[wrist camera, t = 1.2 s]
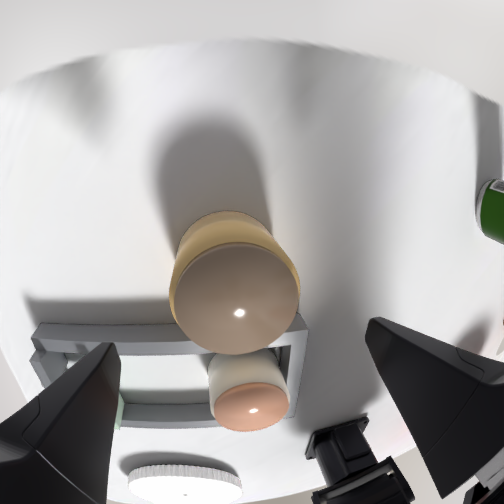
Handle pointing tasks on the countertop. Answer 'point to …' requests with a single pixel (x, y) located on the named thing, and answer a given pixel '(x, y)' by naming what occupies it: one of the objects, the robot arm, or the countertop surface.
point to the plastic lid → (184, 485)
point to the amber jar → (232, 284)
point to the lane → (156, 343)
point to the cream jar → (247, 390)
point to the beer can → (491, 210)
